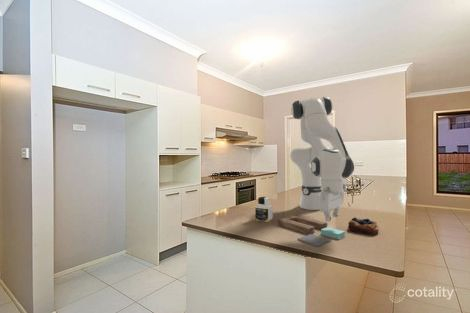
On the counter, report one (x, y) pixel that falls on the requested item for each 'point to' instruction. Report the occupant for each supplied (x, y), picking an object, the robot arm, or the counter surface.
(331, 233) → the block
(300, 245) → the counter surface
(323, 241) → the slate mat
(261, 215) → the white black angular body
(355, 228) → the pastry
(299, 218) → the channel board
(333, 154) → the robot arm
